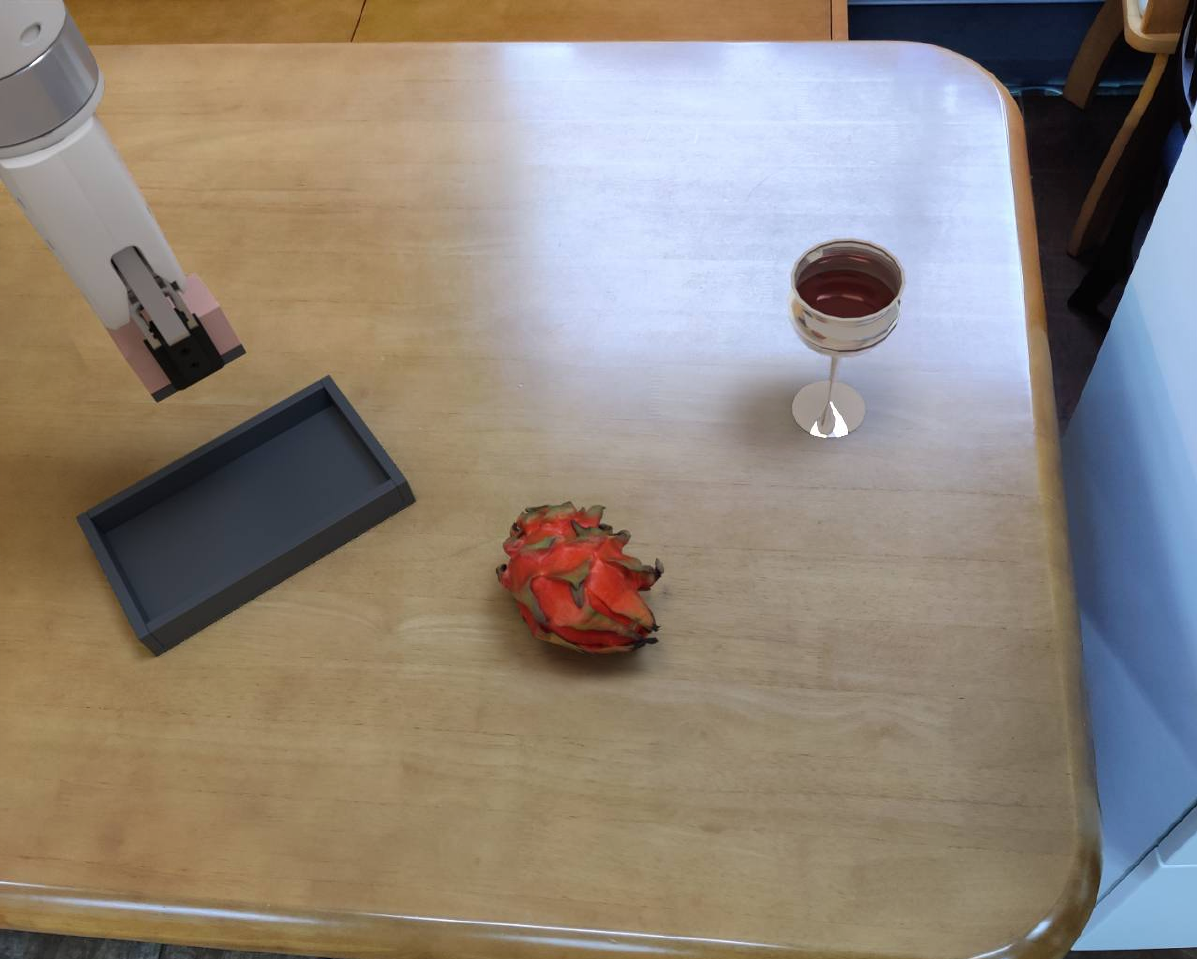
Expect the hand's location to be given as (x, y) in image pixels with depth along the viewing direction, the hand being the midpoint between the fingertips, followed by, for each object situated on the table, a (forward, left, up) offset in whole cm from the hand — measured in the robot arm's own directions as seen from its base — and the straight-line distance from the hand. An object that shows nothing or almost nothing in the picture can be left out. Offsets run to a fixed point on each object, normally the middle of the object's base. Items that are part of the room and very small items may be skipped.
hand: (184, 352), depth 63 cm
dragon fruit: (+12, -23, -13) cm, 29 cm away
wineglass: (+34, -20, -13) cm, 42 cm away
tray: (-2, -3, -13) cm, 13 cm away
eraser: (0, 0, -1) cm, 1 cm away
